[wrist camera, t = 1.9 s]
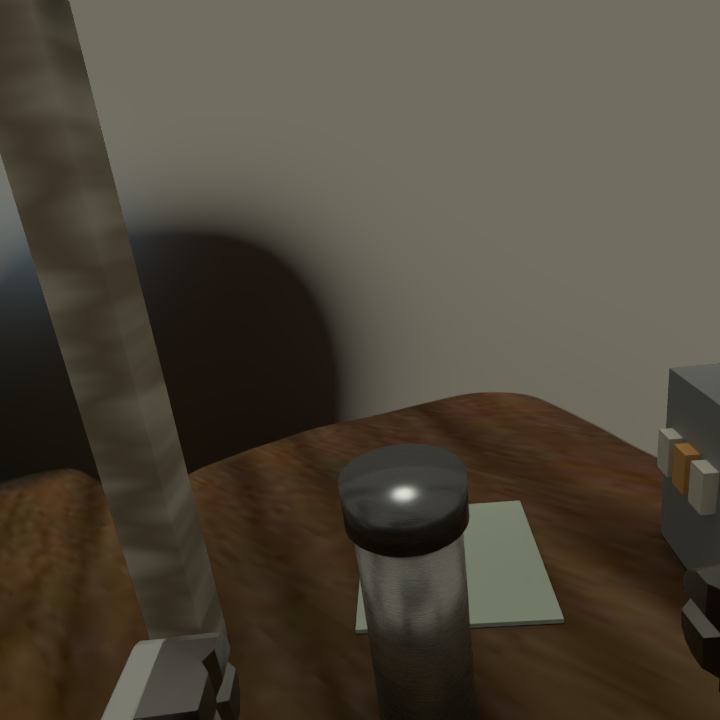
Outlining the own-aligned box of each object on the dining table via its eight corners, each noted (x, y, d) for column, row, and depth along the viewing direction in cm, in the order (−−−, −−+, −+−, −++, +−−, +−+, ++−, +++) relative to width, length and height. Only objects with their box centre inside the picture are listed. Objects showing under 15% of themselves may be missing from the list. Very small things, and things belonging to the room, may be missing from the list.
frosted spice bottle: (375, 783, 25) (331, 516, 21) (378, 682, 30) (343, 449, 26) (493, 780, 25) (474, 506, 20) (476, 678, 30) (459, 439, 25)
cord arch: (161, 678, 32) (-69, -72, 21) (180, 636, 35) (-13, -43, 23) (840, 647, 29) (1015, -270, 17) (799, 603, 32) (927, -209, 20)
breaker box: (700, 609, 32) (717, 417, 28) (648, 533, 39) (656, 369, 35) (790, 604, 32) (819, 408, 28) (721, 528, 38) (737, 361, 34)
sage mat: (356, 633, 33) (355, 629, 33) (365, 515, 45) (365, 511, 45) (564, 623, 32) (563, 618, 32) (519, 503, 44) (519, 500, 43)
